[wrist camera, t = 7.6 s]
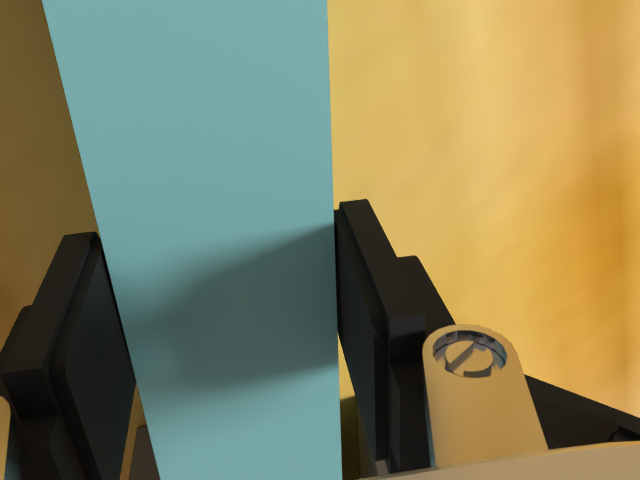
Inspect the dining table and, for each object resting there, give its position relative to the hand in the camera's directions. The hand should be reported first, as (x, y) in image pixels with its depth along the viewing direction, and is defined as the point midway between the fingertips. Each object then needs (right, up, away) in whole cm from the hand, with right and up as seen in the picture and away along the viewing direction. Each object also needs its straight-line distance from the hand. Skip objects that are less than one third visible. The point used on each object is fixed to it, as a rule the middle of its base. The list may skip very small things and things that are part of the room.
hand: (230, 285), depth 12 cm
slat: (-1, +2, +3) cm, 4 cm away
